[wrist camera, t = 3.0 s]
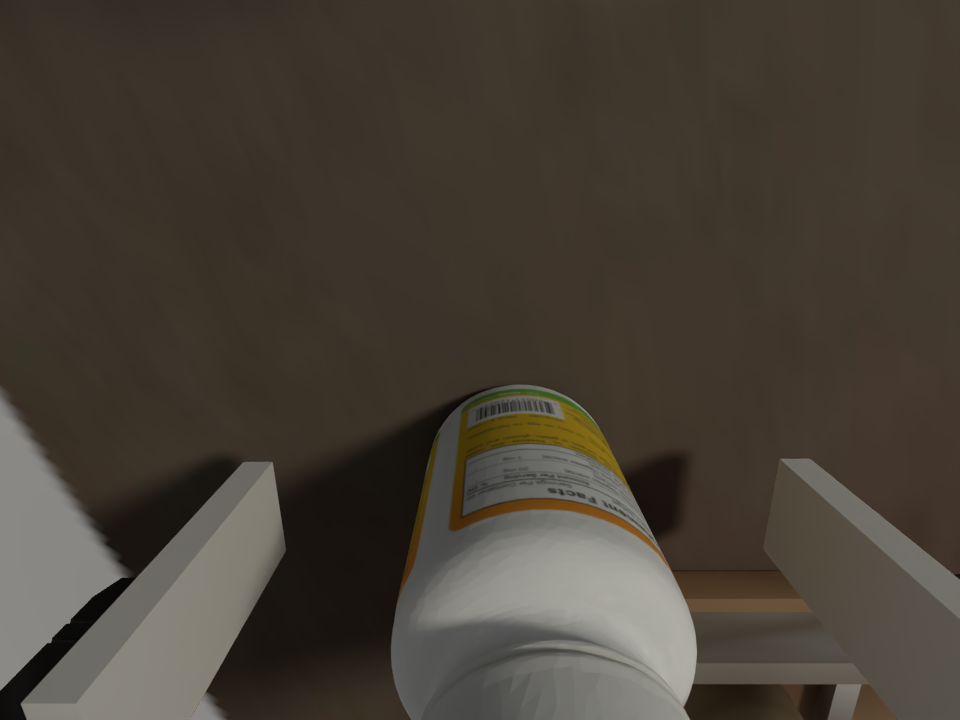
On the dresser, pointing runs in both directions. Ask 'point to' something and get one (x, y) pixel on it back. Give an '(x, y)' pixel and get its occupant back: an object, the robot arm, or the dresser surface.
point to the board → (773, 644)
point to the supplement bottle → (536, 576)
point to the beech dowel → (740, 702)
